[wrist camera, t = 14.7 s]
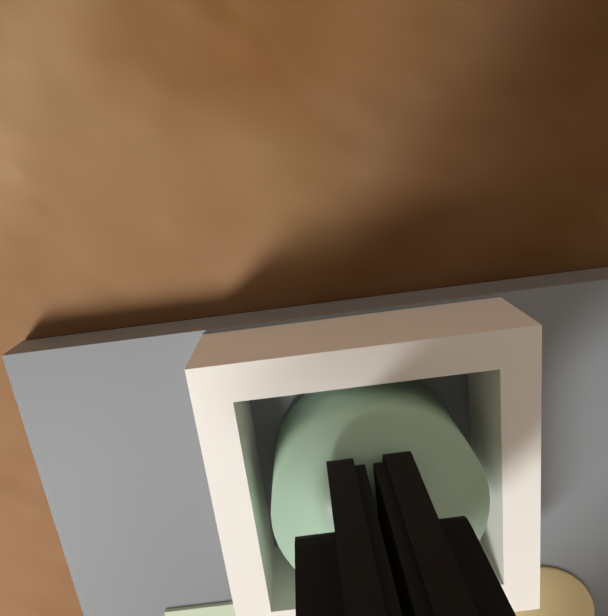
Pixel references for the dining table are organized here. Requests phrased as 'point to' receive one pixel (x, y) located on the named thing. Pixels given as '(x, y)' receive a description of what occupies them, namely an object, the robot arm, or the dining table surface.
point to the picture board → (273, 409)
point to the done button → (370, 455)
